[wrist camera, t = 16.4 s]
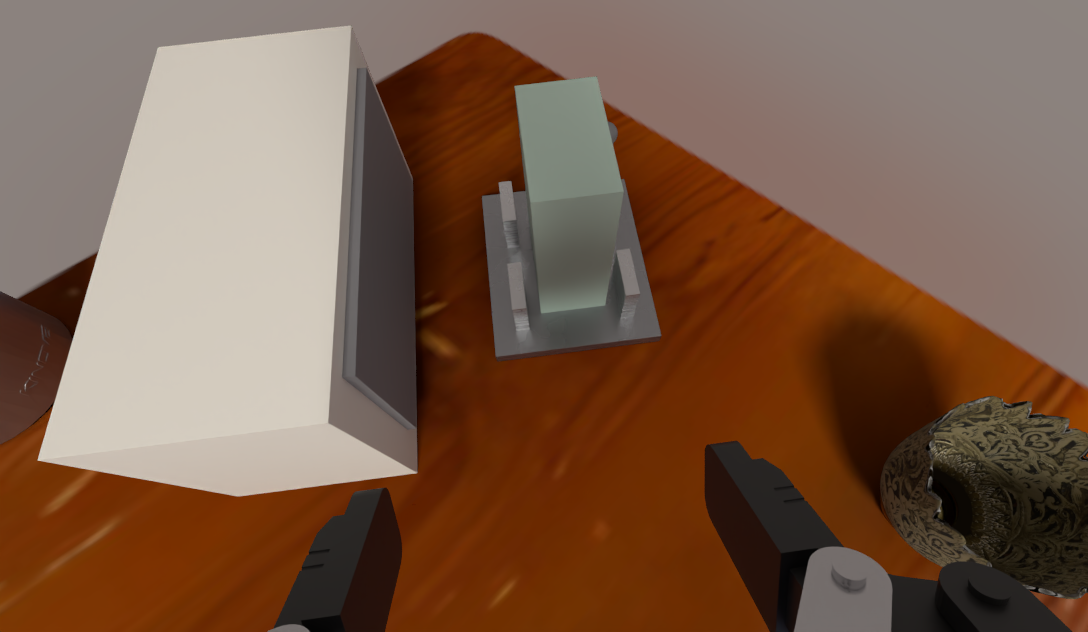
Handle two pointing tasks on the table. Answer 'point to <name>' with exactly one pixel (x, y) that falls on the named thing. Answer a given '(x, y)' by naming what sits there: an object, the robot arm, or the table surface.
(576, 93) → the pale green rectangular box
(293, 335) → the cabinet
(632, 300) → the grey holder base
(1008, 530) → the cup
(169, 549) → the table surface
